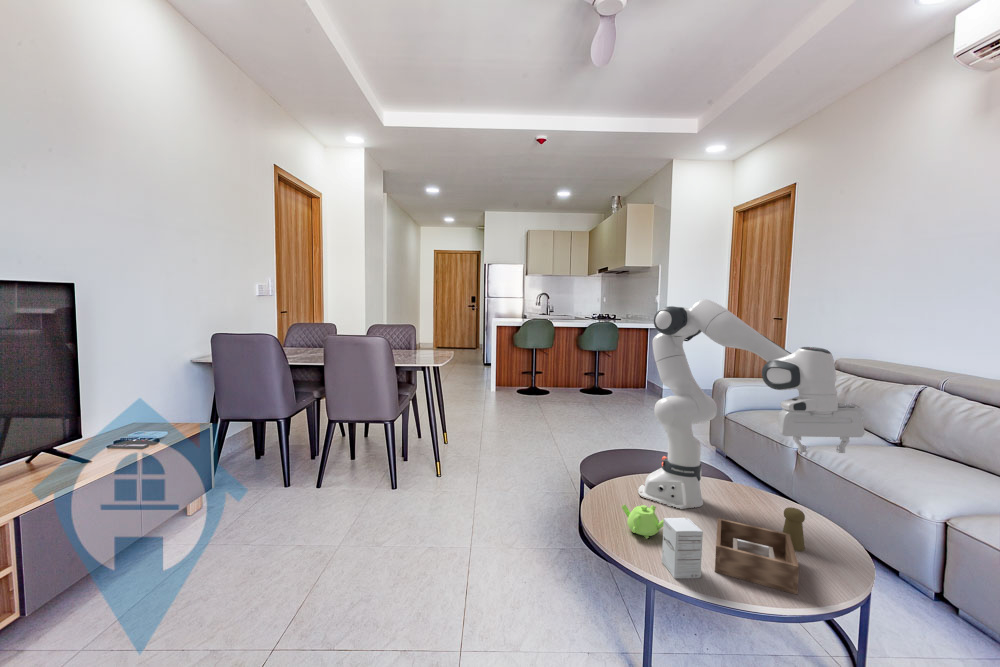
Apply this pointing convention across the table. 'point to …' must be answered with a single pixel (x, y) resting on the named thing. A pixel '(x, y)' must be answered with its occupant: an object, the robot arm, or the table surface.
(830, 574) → the table surface
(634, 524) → the teapot
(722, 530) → the walled box
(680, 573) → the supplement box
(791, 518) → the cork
